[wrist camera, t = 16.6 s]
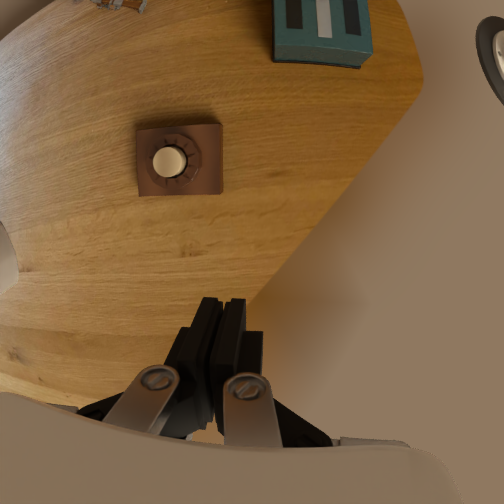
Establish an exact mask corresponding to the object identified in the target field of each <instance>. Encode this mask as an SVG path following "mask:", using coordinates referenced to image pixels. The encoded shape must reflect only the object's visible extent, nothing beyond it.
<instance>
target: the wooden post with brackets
mask: <svg viewBox="0 0 504 504" xmlns="http://www.w3.org/2000/svg"><path fill="white" fill-rule="evenodd" d="M91 1H93V3H94V2H95V3H97V8H98V9H102V7H104V6H105V8H106V7H108V10H109V9H111V10H116V9H120V7H122V6H124V7H129V8H133V9H136V10H139V13H141V14H142V12H143V10H144V8H145V6H146V4H147V0H143V1H126V0H91ZM104 3H107V4H109V5H107V4H106V5H105V4H104ZM103 5H104V6H103Z"/></svg>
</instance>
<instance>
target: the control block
mask: <svg viewBox="0 0 504 504" xmlns="http://www.w3.org/2000/svg"><path fill="white" fill-rule="evenodd" d="M164 147H177V148H179V149H180V150H182V151H183V153H184V154H185V157H186V165H185V168H184V169H183V171H182V172H181V173H179V174H178V175H175V176H172V177H163V176H160V175H159V174H158V173H157V172H156V171H155V169H154V166H153V159H154V156H155V154H156V153H157V151H159V150H160V149H161V148H164ZM136 149H137V174H138V191H139V197H141V196H167V195H218V194H221V193H222V192H223V125H221V124H201V125H186V126H174V127H163V128H154V129H145V130H137V131H136Z"/></svg>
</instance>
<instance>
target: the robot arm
mask: <svg viewBox="0 0 504 504" xmlns="http://www.w3.org/2000/svg"><path fill="white" fill-rule="evenodd" d="M493 54H494V58H495V62H496V65H497V68H498V70H499V72H500V75H501V77H502V78H503V80H504V30H503V31H500V32H498V33H497V34H495V36H494V38H493ZM262 356H263V331H246V299H236V298H232V299H231V302H226V304H225V307H224V311H223V302H222V301H218V298H212V297H203V299H202V301H201V304H200V306H199V308H198V310H197V313H196V315H195V317H194V319H193V322H192V324H191V326H190V327H181V329H180V331H179V333H178V335H177V337H176V339H175V341H174V343H173V345H172V348H171V350H170V352H169V354H168V356H167V358H166V360H165V362H164V365H153V366H149V367H147V368H145V369H143V370H142V371H141V372H140V373H139V374H138V375H137V376H136V377H135V379H134V380H133V381H132V383H131V384H130V385H129V387H128V388H127V389H126V390H125V392H122V393H119V394H117V395H114V396H111V397H109V398H106V399H103V400H101V401H98V402H95V403H92V404H90V405H87V406H85V407H83V408H81V409H80V410H79V409H78V407H75V406H66V405H58V404H51V403H44V402H41V401H38V400H35V399H32V398H29V397H26V396H22V395H19V394H15V393H9V392H0V504H464V503H463V500H462V497H461V495H460V492H459V490H458V487H457V485H456V483H455V481H454V479H453V477H452V475H451V473H450V472H449V470H448V469H447V467H446V466H445V465H444V463H443V462H442V461H441V460H440V459H439V458H437V457H436V456H435V455H433V454H431V453H429V452H426V451H423V450H419V449H414V448H410V446H409V445H408V444H406V443H404V442H402V441H396V440H374V439H359V438H348V437H340V440H337V439H330V437H329V436H328V435H326V434H325V433H324V432H322V431H321V430H319V429H318V428H316V427H314V426H313V425H312V424H310V423H309V422H307V421H306V420H304V419H303V418H301V417H300V416H298V415H297V414H295V413H294V412H292V411H291V410H290V409H288V408H287V407H285V406H284V405H282V404H281V403H280V402H278V401H277V400H275V399H274V398H273V395H272V391H271V386H270V383H269V381H268V380H267V379H266V378H265V377H263V376H262ZM214 413H215V420H216V423H217V427H218V431H219V432H220V433H221V434H222V435H223V436H224V445H221V444H211V443H203V442H195V441H191V440H192V436H193V435H192V433H193V432H194V431H196V430H198V429H202V430H205V429H206V425H207V422H212V421H213V416H214Z"/></svg>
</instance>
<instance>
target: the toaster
mask: <svg viewBox="0 0 504 504" xmlns="http://www.w3.org/2000/svg"><path fill="white" fill-rule="evenodd" d="M272 48H273V63H301V64H316V65H328V66H337V67H346V68H354V69H360V68H361V64H362V63H363V62H364V61H366V60H367V59H368V58H369V57H370V56H371V55H372V54H373V47H372V36H371V27H370V18H369V10H368V3H367V0H272Z"/></svg>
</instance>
